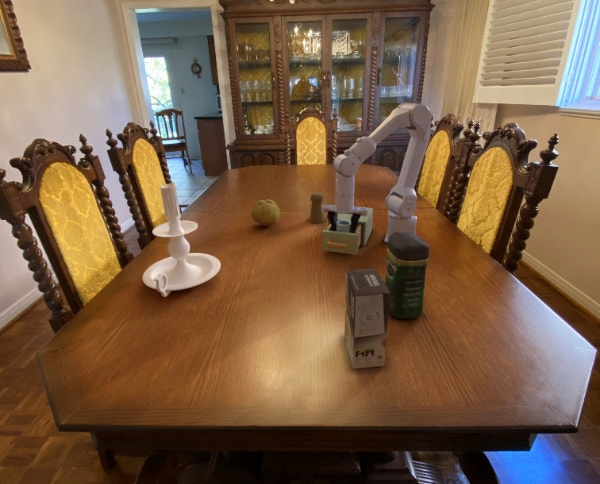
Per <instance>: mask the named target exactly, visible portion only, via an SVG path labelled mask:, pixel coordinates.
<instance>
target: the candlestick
mask: <svg viewBox="0 0 600 484" xmlns="http://www.w3.org/2000/svg"><path fill="white" fill-rule="evenodd" d="M160 194H161V199H162V205H163V209H164V216H165V217H167V222H164V223H161V224H159V225H157V226H156V227H154V228H153V229H152V230H151V231H152V232H151V233H152V234H153V235H154V236H155V237H160V238H169V242H168V245H167V253H168V255H169V257H165V258H162V259H161V260H159V261H156V262H154V263H152V264H151V265H149V267H147V269H146V270H145V271H144V272H143V274H142V279H141V280H142V282H143V284H144V285H145V286H146V287H149V288H151V289H154V290H156V291H157V292H159V293H160V295H161V297H164V298H165V297H168V296H169V295H170V294H171V292H172V291H183V290H188V289H191V288H195V287H196V286H199V285H201V284H205V282H208V281H209V280H211V279H213V278H214V277H215V276H216V275H217V274H218V273H219V272H220V270H221V261H220V259H218V258H217V257H216V256H214V255H211V254H208V253H207V254H206V253H203V252H202V253H201V252H191V251H190V250H191V246H190V243H189V241H188V240H187V239H186V238H185V235H188V234H190V233H192V232H194V231H196V230H197V229H198V228H199V227H198V225H199V224H198V223H197V222H196V221H192V220H184V219H183V220H181V217H182V214H181V209H180V203H179V197H178V191H177V183H175V182H170V183H168V184H167V183H164V184H162V185H161V186H160Z"/></svg>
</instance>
